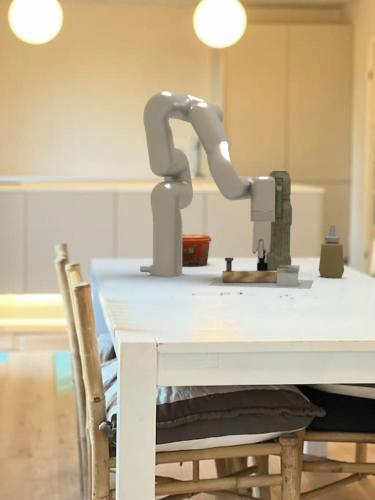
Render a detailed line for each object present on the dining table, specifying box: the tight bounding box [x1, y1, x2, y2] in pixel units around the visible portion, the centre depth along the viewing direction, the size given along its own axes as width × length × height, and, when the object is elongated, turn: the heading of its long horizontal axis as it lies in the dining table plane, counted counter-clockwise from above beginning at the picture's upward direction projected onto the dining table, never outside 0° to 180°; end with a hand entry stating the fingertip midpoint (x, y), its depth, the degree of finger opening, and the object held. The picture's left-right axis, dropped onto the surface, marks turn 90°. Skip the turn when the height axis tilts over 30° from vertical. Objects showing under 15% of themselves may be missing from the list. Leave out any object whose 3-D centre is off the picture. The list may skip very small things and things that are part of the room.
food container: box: [182, 234, 212, 267], centre depth 323 cm, size 16×16×11 cm
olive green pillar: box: [267, 170, 293, 271], centre depth 291 cm, size 9×12×35 cm
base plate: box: [208, 276, 314, 290], centre depth 265 cm, size 30×19×2 cm, turn 79°
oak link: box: [221, 257, 277, 282], centre depth 266 cm, size 23×4×7 cm, turn 95°
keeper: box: [277, 264, 300, 286], centre depth 262 cm, size 6×8×5 cm
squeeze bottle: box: [318, 224, 345, 279], centre depth 280 cm, size 8×8×18 cm
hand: (262, 275), depth 270 cm, fingers closed
